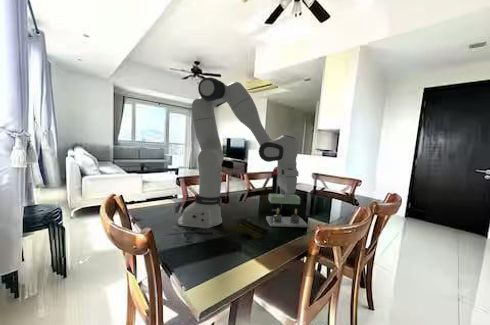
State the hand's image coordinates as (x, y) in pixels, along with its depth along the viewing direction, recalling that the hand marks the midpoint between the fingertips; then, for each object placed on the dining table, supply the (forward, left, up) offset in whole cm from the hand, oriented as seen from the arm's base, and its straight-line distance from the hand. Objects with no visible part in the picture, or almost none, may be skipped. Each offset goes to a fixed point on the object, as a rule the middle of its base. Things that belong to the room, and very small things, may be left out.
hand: (284, 198), depth 107 cm
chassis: (+6, +13, -17) cm, 22 cm away
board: (0, 0, -2) cm, 2 cm away
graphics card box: (+6, +36, -17) cm, 40 cm away
